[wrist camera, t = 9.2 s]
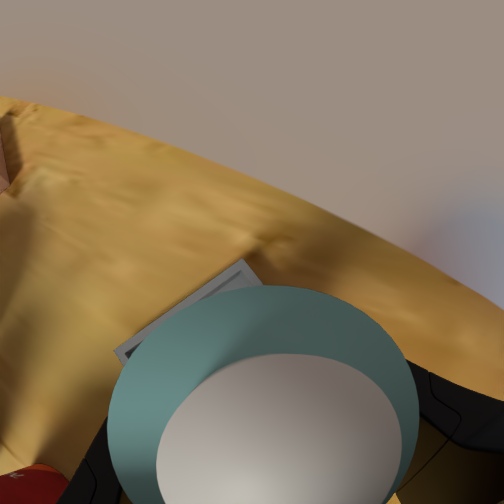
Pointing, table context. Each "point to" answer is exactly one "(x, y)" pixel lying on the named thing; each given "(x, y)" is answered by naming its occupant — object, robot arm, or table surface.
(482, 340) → the table surface
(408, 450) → the pepper mill
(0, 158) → the pastry plate
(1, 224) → the table surface
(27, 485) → the paper cup
